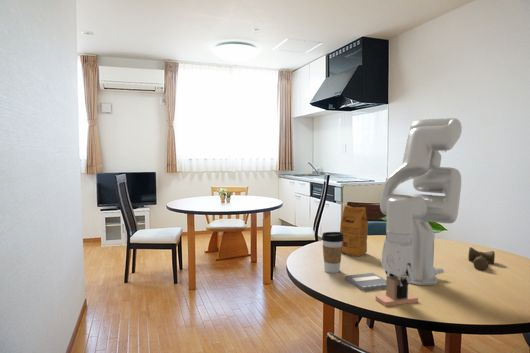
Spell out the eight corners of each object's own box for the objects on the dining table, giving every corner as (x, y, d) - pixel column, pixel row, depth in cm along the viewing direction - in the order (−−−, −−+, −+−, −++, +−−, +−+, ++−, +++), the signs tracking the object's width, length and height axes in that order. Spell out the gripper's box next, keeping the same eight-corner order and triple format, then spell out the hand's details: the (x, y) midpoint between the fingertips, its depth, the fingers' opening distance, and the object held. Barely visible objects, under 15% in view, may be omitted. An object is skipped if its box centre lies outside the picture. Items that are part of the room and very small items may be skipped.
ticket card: (372, 275, 134) (373, 272, 134) (392, 287, 122) (393, 283, 122) (344, 278, 130) (344, 275, 130) (362, 291, 119) (362, 287, 119)
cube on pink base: (407, 295, 115) (408, 273, 115) (418, 301, 110) (418, 279, 110) (375, 299, 112) (376, 277, 111) (385, 306, 107) (385, 282, 106)
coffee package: (347, 248, 173) (348, 203, 172) (370, 253, 164) (371, 206, 162) (335, 252, 166) (336, 205, 165) (358, 257, 157) (359, 208, 156)
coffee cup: (343, 274, 135) (343, 235, 134) (320, 272, 137) (321, 234, 136) (342, 267, 143) (343, 231, 142) (321, 266, 145) (322, 230, 144)
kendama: (466, 269, 144) (468, 256, 161) (494, 274, 139) (493, 260, 156) (467, 255, 143) (469, 243, 160) (495, 260, 138) (495, 247, 155)
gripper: (372, 232, 117) (371, 286, 118) (406, 245, 101) (404, 307, 102) (392, 231, 119) (390, 284, 120) (428, 243, 103) (425, 304, 104)
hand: (396, 294), depth 111 cm, fingers closed on cube on pink base, 4 cm apart
